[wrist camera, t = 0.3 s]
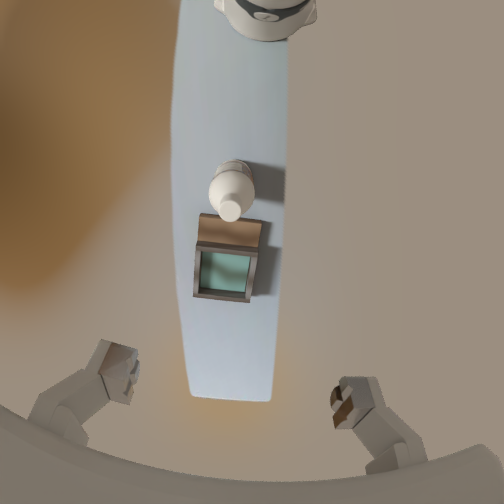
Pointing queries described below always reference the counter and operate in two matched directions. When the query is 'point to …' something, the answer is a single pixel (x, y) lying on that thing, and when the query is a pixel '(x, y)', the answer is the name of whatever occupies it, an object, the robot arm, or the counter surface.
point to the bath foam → (232, 190)
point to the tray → (226, 258)
